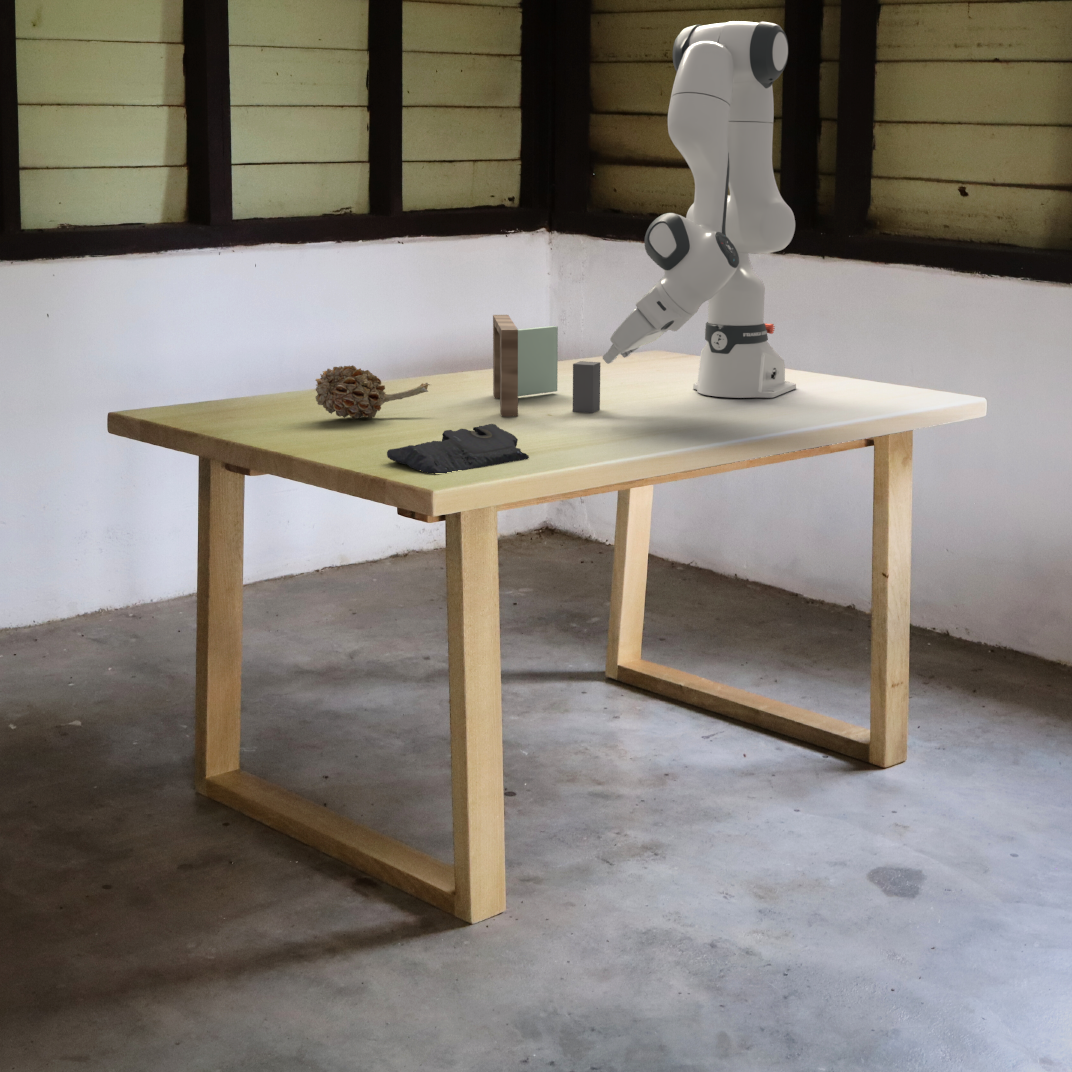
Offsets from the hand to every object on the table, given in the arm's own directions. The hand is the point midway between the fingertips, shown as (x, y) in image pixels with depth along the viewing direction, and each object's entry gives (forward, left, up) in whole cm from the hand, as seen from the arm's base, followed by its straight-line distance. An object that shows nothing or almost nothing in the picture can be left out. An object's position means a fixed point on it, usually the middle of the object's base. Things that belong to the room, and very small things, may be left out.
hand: (614, 357), depth 281 cm
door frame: (+7, -21, -10) cm, 24 cm away
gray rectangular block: (+1, -5, -10) cm, 12 cm away
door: (-4, -24, -10) cm, 27 cm away
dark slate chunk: (+51, +7, -11) cm, 52 cm away
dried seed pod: (+33, -30, -11) cm, 46 cm away
